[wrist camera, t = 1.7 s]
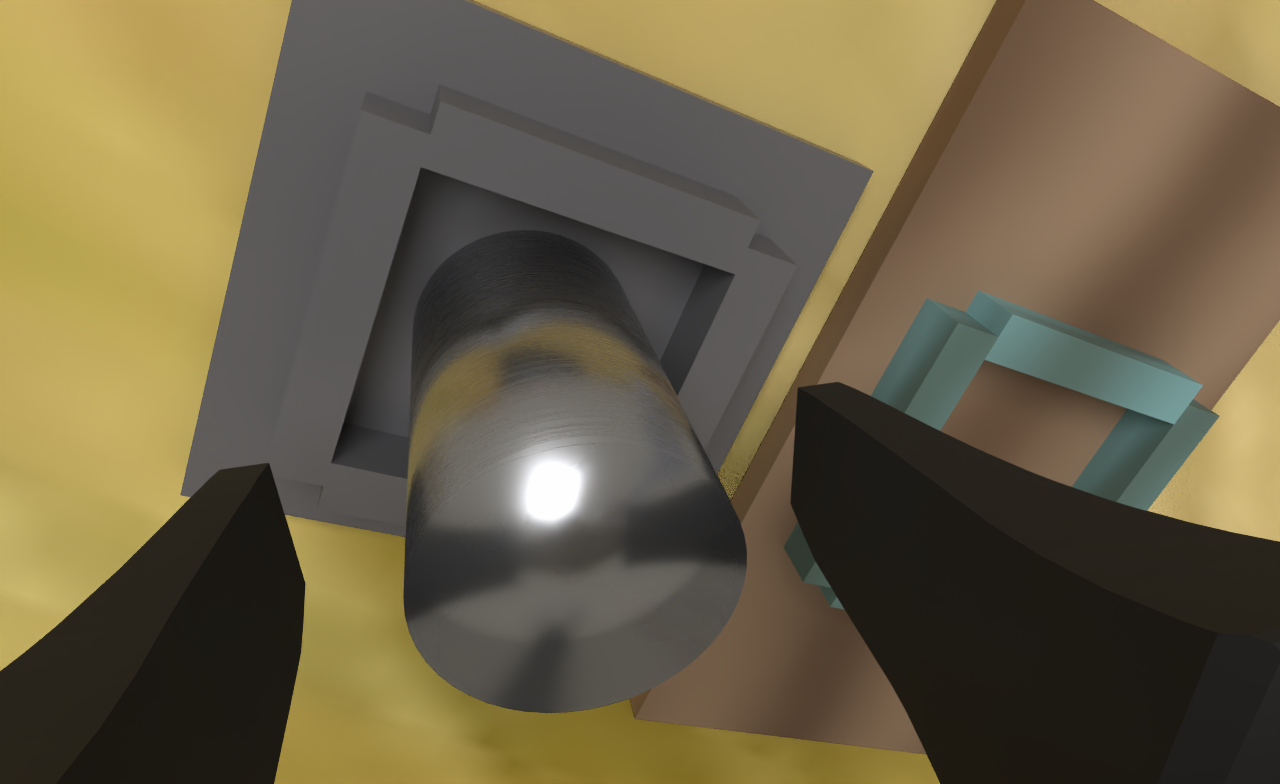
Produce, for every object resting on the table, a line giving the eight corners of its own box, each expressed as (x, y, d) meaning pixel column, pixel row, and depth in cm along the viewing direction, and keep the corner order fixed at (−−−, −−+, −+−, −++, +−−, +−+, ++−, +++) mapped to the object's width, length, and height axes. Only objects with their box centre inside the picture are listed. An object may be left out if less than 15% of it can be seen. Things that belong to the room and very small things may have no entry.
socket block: (859, 163, 16) (909, 193, 15) (654, 566, 20) (675, 628, 19) (311, -67, 13) (294, -64, 11) (188, 476, 17) (160, 542, 15)
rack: (1357, 161, 19) (1449, 187, 17) (933, 734, 26) (969, 793, 24) (1014, -33, 15) (1088, -24, 14) (628, 693, 22) (645, 759, 20)
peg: (663, 269, 16) (804, 489, 10) (585, 447, 18) (667, 728, 12) (450, 198, 15) (467, 405, 9) (386, 399, 16) (361, 691, 10)
